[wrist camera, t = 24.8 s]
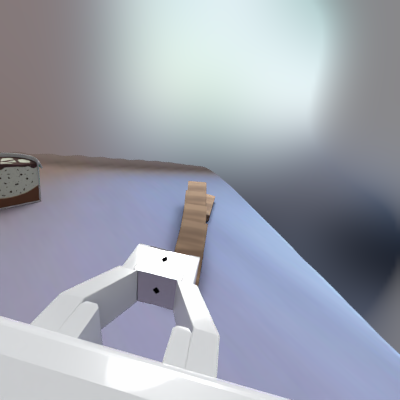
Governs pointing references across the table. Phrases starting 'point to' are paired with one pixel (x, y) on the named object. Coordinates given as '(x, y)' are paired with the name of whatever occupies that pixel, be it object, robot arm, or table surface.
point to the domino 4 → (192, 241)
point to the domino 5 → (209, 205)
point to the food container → (19, 180)
